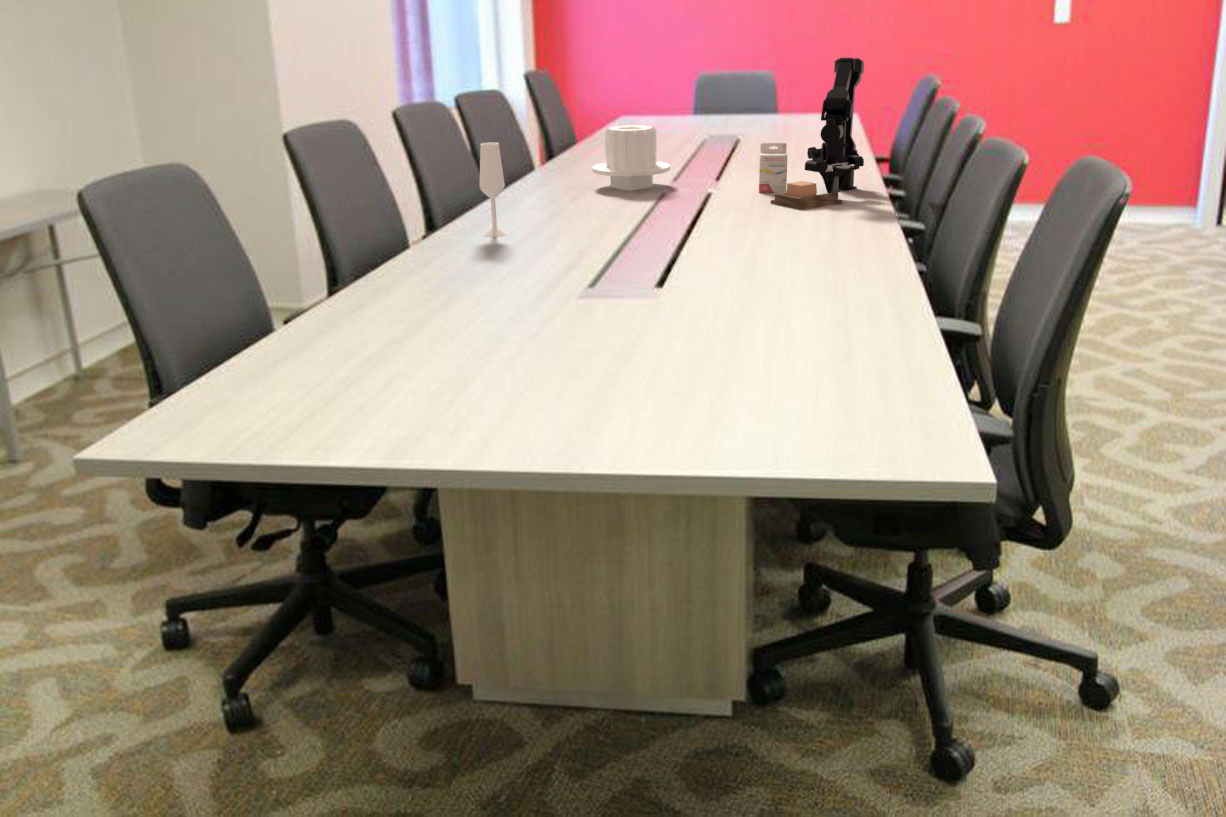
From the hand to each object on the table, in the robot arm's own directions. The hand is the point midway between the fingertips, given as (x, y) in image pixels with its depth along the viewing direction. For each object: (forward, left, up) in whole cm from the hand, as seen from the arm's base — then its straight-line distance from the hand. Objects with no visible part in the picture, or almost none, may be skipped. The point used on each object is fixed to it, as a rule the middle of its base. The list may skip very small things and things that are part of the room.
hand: (833, 192), depth 350 cm
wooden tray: (+10, 0, -2) cm, 10 cm away
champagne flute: (+103, -20, -2) cm, 105 cm away
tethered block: (+7, 0, -2) cm, 7 cm away
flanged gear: (+34, -58, -2) cm, 67 cm away
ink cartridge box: (+5, -22, -2) cm, 23 cm away
